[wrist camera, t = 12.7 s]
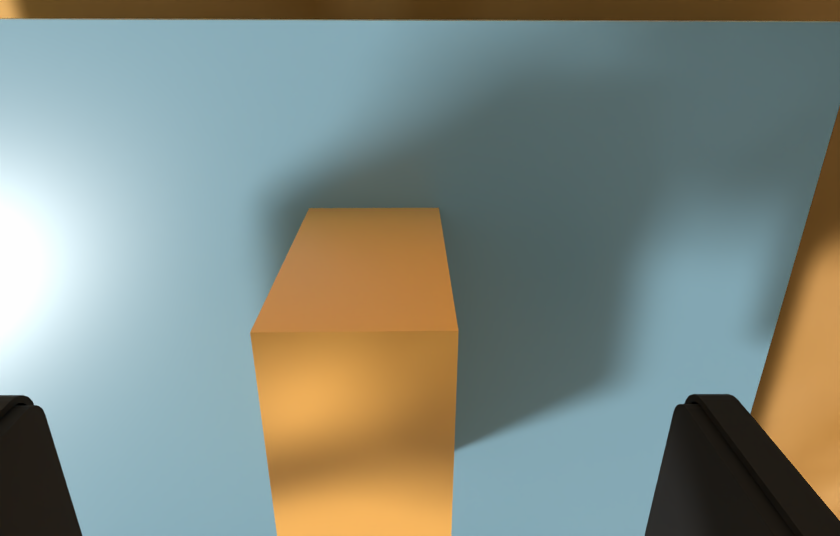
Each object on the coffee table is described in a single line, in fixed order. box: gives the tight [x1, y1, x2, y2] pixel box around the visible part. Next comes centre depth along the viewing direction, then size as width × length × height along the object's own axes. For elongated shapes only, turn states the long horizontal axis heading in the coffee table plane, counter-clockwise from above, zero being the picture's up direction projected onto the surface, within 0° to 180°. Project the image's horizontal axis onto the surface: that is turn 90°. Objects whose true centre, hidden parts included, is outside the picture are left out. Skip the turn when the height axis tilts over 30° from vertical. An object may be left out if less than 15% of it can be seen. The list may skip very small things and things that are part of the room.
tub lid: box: [0, 18, 840, 536], centre depth 11 cm, size 16×12×6 cm
